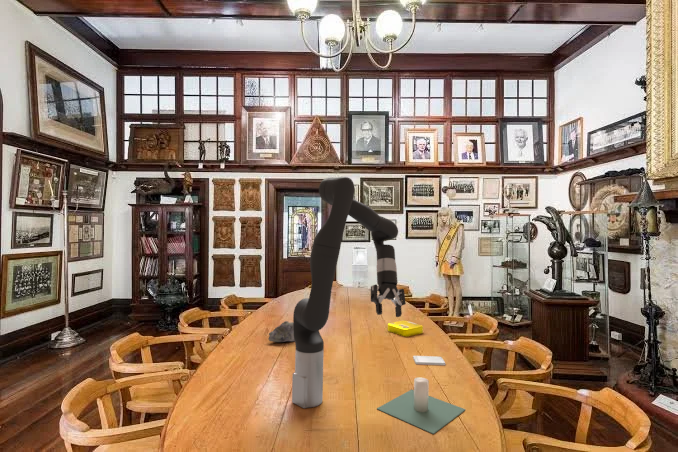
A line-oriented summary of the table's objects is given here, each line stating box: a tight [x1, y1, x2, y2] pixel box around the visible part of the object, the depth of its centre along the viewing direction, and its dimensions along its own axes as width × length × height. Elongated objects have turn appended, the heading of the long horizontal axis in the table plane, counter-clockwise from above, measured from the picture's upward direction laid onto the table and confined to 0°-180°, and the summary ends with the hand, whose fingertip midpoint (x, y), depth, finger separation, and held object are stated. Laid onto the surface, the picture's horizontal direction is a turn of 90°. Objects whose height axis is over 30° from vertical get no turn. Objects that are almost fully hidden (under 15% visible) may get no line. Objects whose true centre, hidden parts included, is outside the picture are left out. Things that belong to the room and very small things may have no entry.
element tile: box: [386, 319, 424, 338], centre depth 209 cm, size 15×15×5 cm
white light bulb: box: [413, 377, 430, 412], centre depth 119 cm, size 4×4×9 cm
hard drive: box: [412, 355, 446, 366], centre depth 163 cm, size 2×8×12 cm
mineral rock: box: [268, 320, 295, 343], centre depth 187 cm, size 13×11×10 cm
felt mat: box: [376, 389, 466, 435], centre depth 119 cm, size 20×20×1 cm
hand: (389, 315), depth 135 cm, fingers open, 8 cm apart
